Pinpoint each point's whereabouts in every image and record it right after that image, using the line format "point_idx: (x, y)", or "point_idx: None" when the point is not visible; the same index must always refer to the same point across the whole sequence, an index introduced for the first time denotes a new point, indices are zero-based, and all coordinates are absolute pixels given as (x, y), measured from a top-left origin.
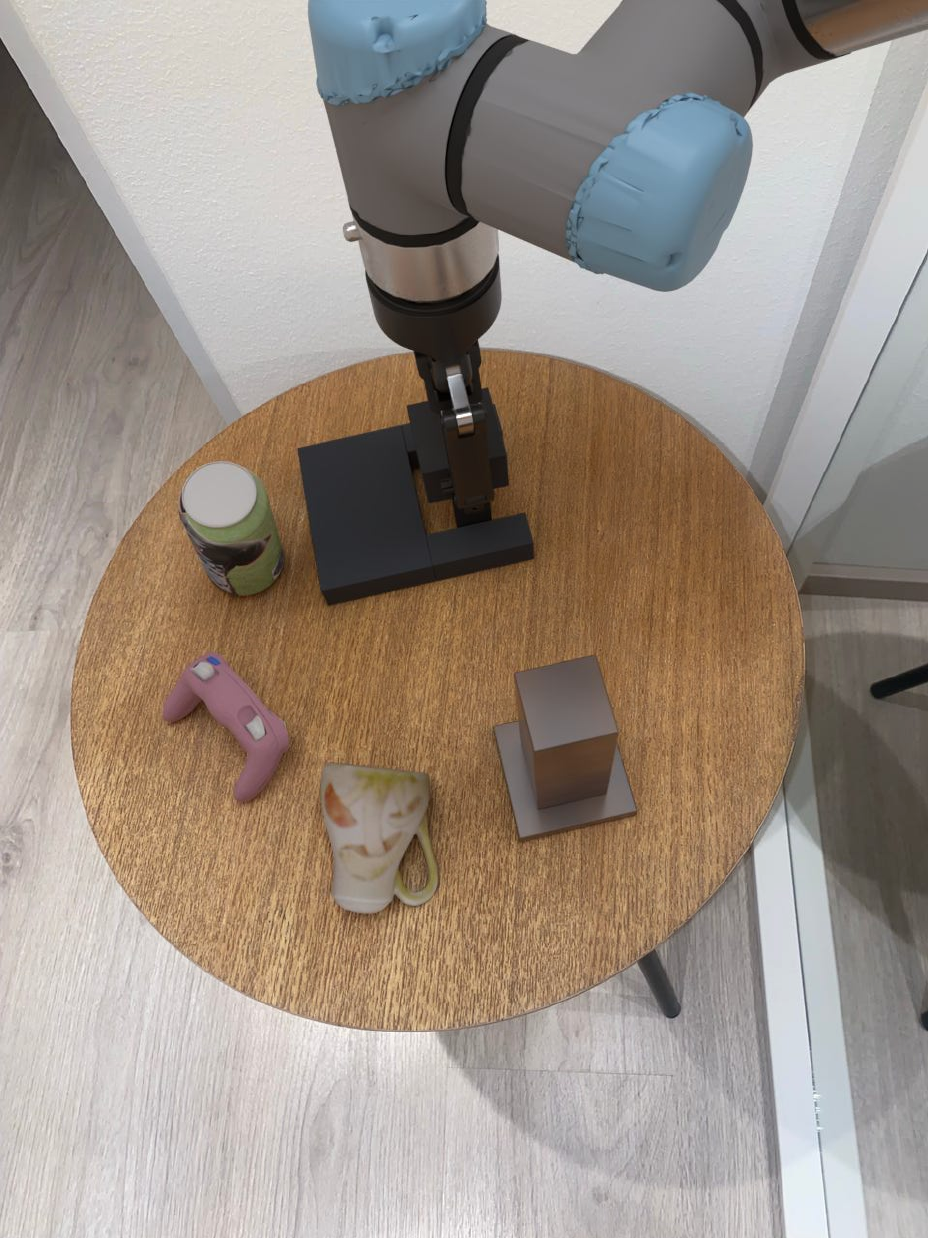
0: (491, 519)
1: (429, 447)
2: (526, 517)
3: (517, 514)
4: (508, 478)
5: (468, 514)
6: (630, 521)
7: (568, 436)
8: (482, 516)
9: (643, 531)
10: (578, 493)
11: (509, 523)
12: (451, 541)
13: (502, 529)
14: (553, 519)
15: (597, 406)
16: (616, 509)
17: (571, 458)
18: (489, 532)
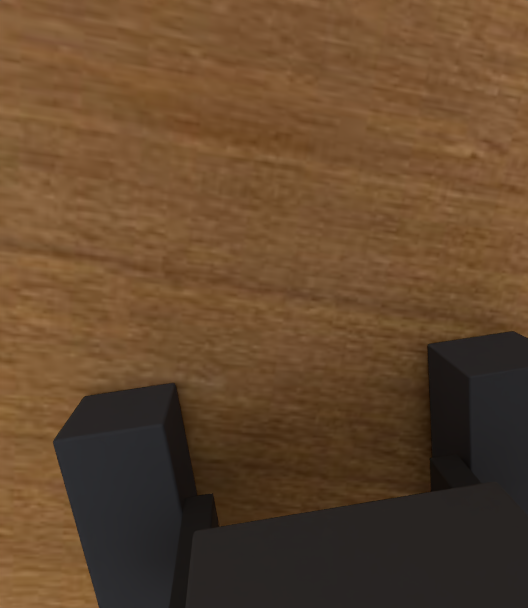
0: (462, 462)
1: None
2: (487, 374)
3: (470, 397)
4: (526, 514)
5: None
6: (465, 52)
7: (146, 198)
8: None
9: (506, 17)
10: (346, 194)
11: (495, 421)
12: None
13: (510, 441)
14: (413, 272)
15: (33, 88)
16: (418, 88)
17: (226, 199)
18: (509, 473)
